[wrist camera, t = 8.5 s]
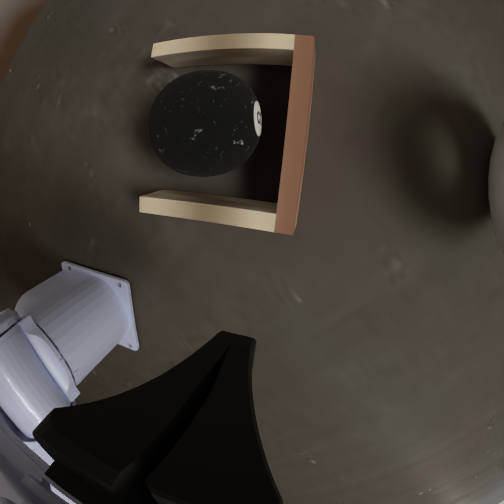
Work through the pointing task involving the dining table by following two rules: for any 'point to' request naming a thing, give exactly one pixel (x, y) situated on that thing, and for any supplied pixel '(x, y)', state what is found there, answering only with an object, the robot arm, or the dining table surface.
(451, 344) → the dining table surface
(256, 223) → the wooden u-shaped frame
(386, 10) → the dining table surface
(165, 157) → the billiard ball
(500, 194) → the donut
